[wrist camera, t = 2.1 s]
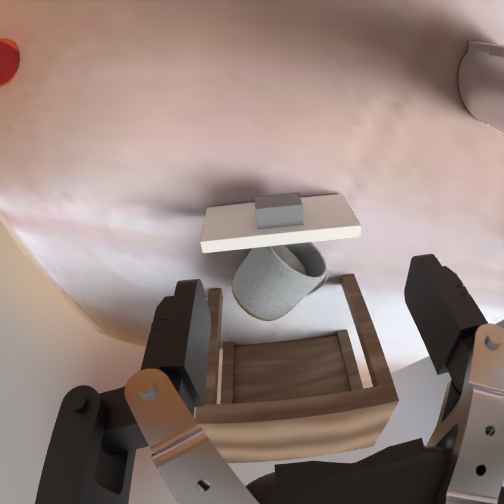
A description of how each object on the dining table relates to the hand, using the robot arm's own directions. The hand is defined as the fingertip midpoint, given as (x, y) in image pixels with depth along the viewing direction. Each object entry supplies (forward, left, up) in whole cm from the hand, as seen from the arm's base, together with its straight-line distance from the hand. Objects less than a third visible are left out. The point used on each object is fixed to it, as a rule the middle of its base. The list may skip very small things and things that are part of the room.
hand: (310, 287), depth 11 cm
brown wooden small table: (+25, 0, -22) cm, 33 cm away
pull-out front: (+7, 0, -22) cm, 23 cm away
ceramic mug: (+15, 0, -22) cm, 27 cm away
